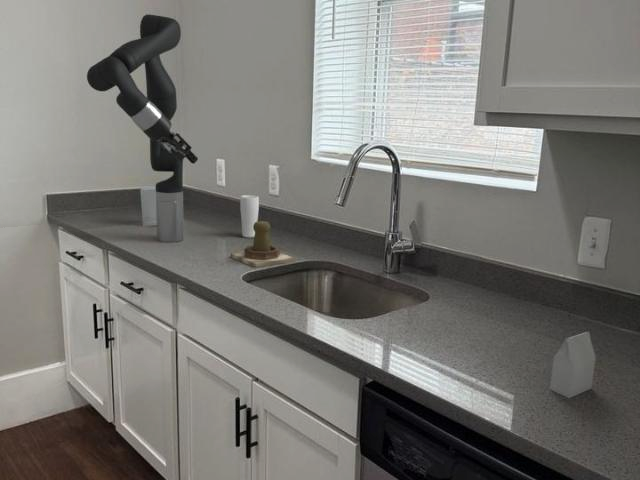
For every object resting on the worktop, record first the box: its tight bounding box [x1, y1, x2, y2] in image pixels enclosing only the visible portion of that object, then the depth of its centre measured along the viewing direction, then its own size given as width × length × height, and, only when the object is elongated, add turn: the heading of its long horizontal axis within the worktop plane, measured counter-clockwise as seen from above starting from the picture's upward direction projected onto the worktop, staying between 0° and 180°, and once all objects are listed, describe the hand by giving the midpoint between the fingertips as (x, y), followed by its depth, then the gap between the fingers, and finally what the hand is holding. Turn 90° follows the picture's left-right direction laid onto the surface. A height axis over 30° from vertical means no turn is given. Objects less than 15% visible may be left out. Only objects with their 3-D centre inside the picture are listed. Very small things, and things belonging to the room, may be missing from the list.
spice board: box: [230, 244, 295, 269], centre depth 182 cm, size 15×14×4 cm
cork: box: [252, 220, 271, 252], centre depth 181 cm, size 6×6×11 cm
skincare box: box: [139, 186, 157, 227], centre depth 228 cm, size 8×6×15 cm
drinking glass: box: [239, 194, 260, 239], centre depth 213 cm, size 7×7×15 cm
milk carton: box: [549, 331, 597, 399], centre depth 101 cm, size 4×7×10 cm, turn 125°
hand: (189, 160), depth 172 cm, fingers open, 8 cm apart
